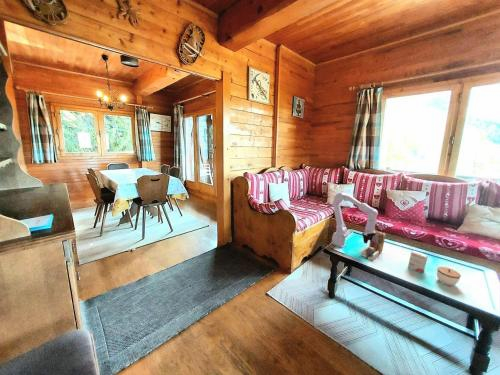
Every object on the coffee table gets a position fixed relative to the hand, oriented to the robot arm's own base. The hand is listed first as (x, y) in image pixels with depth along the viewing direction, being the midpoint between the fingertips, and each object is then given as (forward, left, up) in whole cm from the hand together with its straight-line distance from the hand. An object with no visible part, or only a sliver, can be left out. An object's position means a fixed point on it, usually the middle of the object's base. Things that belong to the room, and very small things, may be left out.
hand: (367, 241), depth 166 cm
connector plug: (+4, -4, -9) cm, 11 cm away
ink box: (+31, +7, -10) cm, 33 cm away
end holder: (+4, -1, -10) cm, 11 cm away
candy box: (+3, +12, -10) cm, 16 cm away
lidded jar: (+47, +5, -10) cm, 48 cm away
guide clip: (0, -4, -10) cm, 10 cm away
